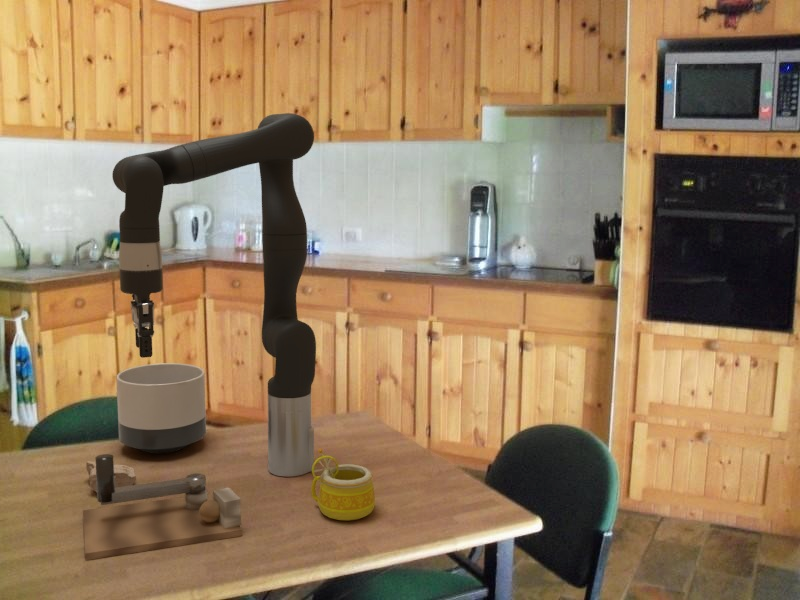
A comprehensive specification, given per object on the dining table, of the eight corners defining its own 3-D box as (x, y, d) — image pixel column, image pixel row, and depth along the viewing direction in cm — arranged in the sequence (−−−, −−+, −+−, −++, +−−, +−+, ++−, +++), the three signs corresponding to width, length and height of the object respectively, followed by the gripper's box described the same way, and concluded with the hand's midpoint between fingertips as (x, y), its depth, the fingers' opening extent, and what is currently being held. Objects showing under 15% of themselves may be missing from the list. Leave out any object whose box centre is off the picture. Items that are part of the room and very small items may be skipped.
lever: (204, 484, 155) (203, 441, 154) (207, 491, 152) (206, 448, 151) (96, 499, 148) (94, 454, 146) (98, 507, 144) (96, 461, 143)
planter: (103, 459, 179) (100, 382, 176) (142, 431, 198) (140, 361, 195) (186, 465, 177) (184, 386, 174) (218, 436, 196) (216, 365, 193)
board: (224, 497, 161) (224, 467, 160) (243, 535, 144) (242, 502, 143) (83, 516, 151) (81, 484, 150) (85, 560, 134) (83, 525, 133)
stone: (90, 499, 159) (89, 475, 158) (86, 478, 169) (85, 455, 168) (137, 492, 162) (136, 469, 162) (131, 472, 173) (130, 450, 172)
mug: (383, 505, 158) (384, 446, 156) (362, 528, 148) (363, 466, 146) (323, 495, 162) (323, 438, 160) (299, 517, 152) (298, 456, 150)
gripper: (166, 270, 144) (169, 359, 147) (158, 261, 157) (160, 342, 160) (121, 271, 141) (125, 362, 144) (117, 262, 154) (120, 345, 157)
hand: (143, 351), depth 152 cm, fingers open, 8 cm apart
